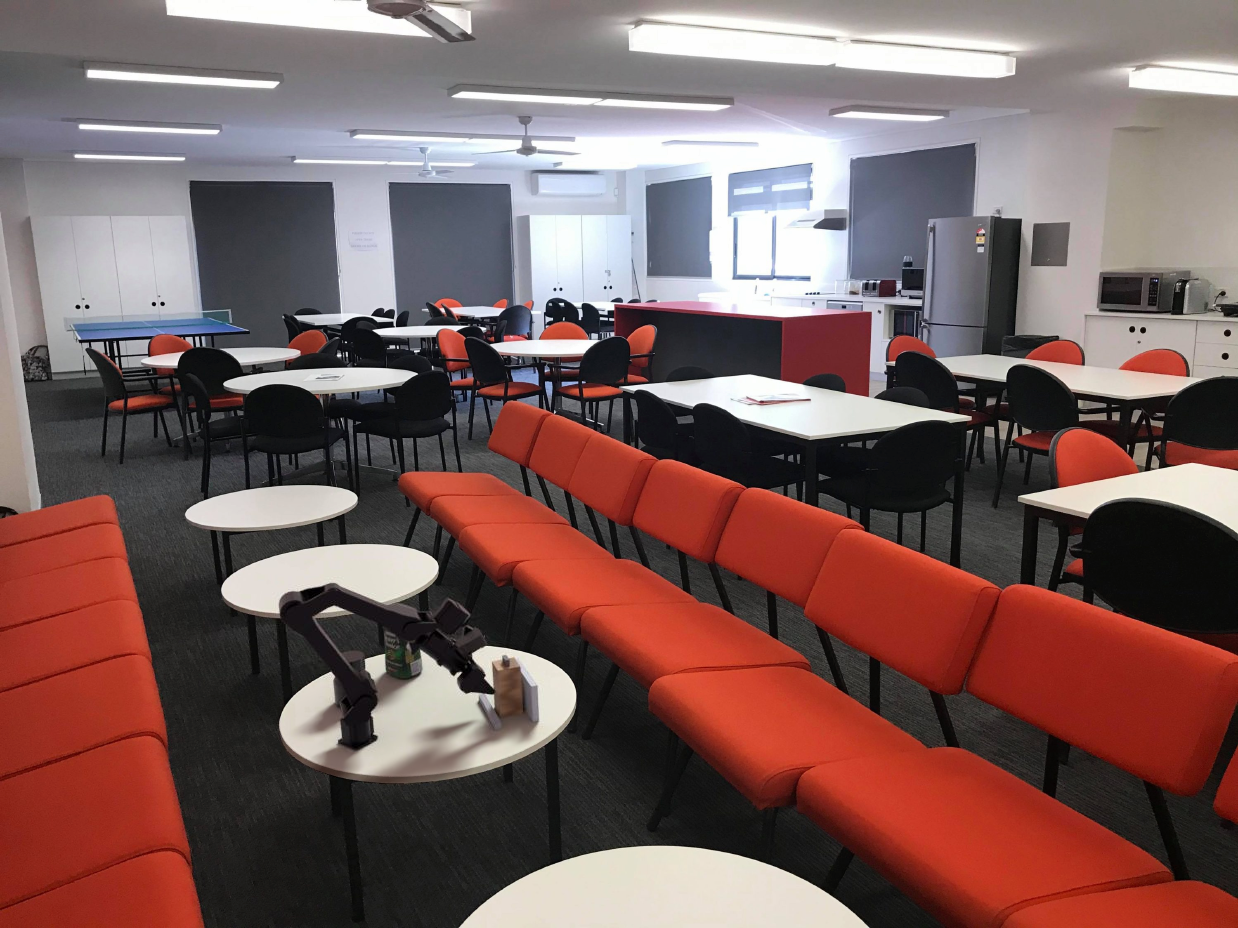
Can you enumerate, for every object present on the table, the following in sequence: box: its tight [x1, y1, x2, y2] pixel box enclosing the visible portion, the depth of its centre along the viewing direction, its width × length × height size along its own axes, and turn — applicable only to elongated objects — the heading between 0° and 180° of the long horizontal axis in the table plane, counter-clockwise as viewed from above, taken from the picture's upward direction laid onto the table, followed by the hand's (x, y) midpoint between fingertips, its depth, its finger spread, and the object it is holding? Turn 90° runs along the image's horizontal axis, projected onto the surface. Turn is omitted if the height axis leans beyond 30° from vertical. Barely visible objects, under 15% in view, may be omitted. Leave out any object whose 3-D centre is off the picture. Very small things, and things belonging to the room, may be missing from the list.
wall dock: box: [478, 658, 540, 731], centre depth 222 cm, size 10×16×9 cm, turn 22°
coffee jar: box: [382, 601, 424, 680], centre depth 243 cm, size 10×8×19 cm
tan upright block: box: [491, 654, 524, 719], centre depth 222 cm, size 6×6×14 cm
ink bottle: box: [332, 650, 372, 709], centre depth 228 cm, size 10×9×12 cm
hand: (489, 684), depth 220 cm, fingers open, 9 cm apart
